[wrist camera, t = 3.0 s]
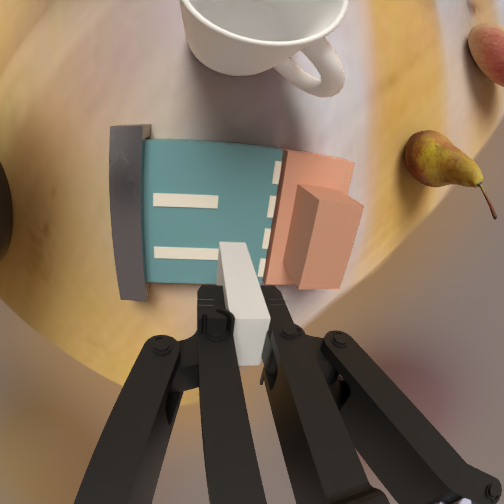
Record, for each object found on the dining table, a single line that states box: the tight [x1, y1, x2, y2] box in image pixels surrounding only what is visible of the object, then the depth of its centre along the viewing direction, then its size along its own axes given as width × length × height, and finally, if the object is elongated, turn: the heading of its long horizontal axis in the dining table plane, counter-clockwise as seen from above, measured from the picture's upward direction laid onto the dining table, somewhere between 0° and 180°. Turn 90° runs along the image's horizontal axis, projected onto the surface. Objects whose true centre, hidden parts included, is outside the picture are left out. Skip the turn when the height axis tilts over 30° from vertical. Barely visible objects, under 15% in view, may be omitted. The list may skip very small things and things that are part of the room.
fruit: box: [405, 131, 497, 219], centre depth 18 cm, size 6×6×12 cm
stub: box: [263, 148, 364, 290], centre depth 22 cm, size 6×12×6 cm, turn 173°
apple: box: [468, 23, 504, 87], centre depth 14 cm, size 9×9×8 cm
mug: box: [179, 0, 349, 97], centre depth 13 cm, size 12×8×10 cm
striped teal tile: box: [143, 139, 283, 285], centre depth 22 cm, size 13×12×2 cm
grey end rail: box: [109, 124, 151, 301], centre depth 20 cm, size 2×14×3 cm, turn 173°
